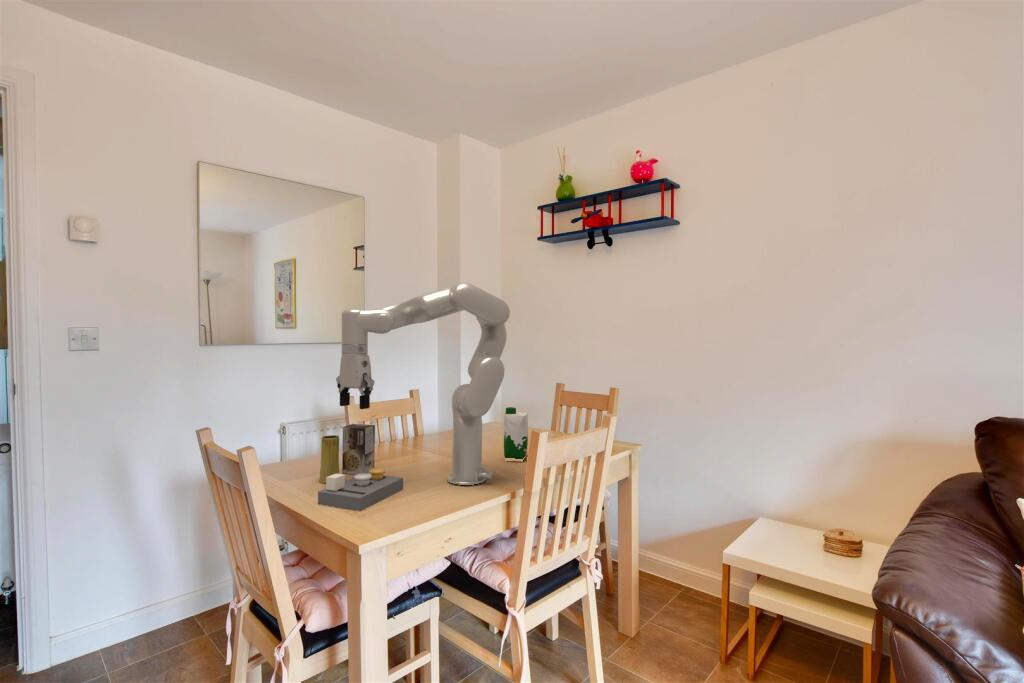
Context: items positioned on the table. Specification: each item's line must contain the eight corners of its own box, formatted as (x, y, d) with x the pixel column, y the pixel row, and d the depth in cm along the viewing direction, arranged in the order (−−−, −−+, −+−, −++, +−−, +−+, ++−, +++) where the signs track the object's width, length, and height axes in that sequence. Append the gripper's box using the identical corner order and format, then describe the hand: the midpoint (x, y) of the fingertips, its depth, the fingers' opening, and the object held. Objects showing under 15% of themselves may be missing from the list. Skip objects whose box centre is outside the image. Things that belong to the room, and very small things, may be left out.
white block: (344, 495, 141) (344, 474, 141) (334, 499, 137) (335, 478, 137) (335, 494, 142) (336, 473, 142) (326, 498, 138) (326, 477, 138)
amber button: (388, 478, 153) (388, 468, 153) (379, 482, 148) (379, 472, 148) (375, 476, 155) (375, 466, 155) (365, 480, 150) (365, 470, 150)
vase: (342, 478, 163) (342, 434, 162) (336, 483, 156) (336, 438, 156) (323, 478, 162) (324, 434, 162) (316, 483, 156) (317, 438, 156)
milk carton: (506, 456, 197) (507, 406, 197) (528, 458, 195) (529, 407, 195) (501, 461, 188) (502, 409, 188) (525, 463, 187) (526, 410, 187)
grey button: (374, 484, 146) (374, 474, 146) (364, 489, 142) (364, 478, 142) (361, 482, 148) (361, 472, 148) (350, 487, 143) (350, 476, 143)
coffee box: (375, 471, 172) (376, 424, 172) (364, 476, 166) (365, 428, 166) (352, 469, 174) (352, 423, 174) (341, 473, 168) (341, 426, 168)
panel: (403, 489, 152) (403, 477, 152) (360, 511, 133) (360, 498, 133) (364, 483, 157) (364, 472, 157) (317, 504, 137) (318, 491, 137)
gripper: (383, 350, 147) (383, 408, 147) (348, 349, 157) (347, 403, 158) (362, 351, 141) (361, 411, 141) (326, 349, 151) (326, 405, 152)
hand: (354, 407), depth 150 cm, fingers open, 9 cm apart
